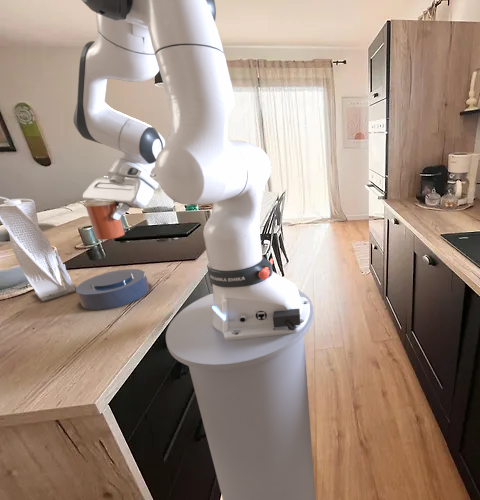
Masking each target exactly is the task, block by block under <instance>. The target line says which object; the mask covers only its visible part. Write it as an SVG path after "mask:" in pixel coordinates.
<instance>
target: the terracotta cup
mask: <svg viewBox="0 0 480 500" xmlns="http://www.w3.org/2000/svg"><path fill="white" fill-rule="evenodd" d="M83 205H84V207H85V208H86V209H85V210H86V212H87V214H88V218H89V221H90V224H91V227H92V230H93V233H94V237H95V239H96V240H100V241H101V240H112V239H117V238H120V237H123V236H125V235H126V232H125V228H124V225H123V222H122V219H121V217H120V219H119V220H113V219H111V218H109V215H110V214H111V212H114V211H115V210H116V209H117V208H118V206H117V205H116V202H115V201H114V200H105V199H94V200H88V201H86V200H84V201H83Z"/></svg>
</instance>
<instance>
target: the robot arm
mask: <svg viewBox="0 0 480 500" xmlns="http://www.w3.org/2000/svg"><path fill="white" fill-rule="evenodd" d="M81 1H82V3H84V4H85V5H86V6H87V8H89V10H91V11H92V12H94V13H95V19H96V30H97V31H96V38H95V40H91V41H88V42H87V43H86V44H84V46H83V48H82V49H81V52H80V58H79V66H78V83H77V97H76V106H75V109H74V113H73V117H72V118H73V119H72V121H73V124H74V127H75V129H76V130H77V132H78V133H79V134H80V136H81V137H82V138H84V139H85V140H88V141H91V142H94V143H98V144H102V145H103V146H104V145H105V146H107V147H110V148H112V149H115V150H117V151H118V152H121V154H120V155H119V156H117V157H116V159H115V160H114V162H113V163H112V165H111V166H110V168H109V169H108V170H107V173H106V174H107V175H103V176H102V177H97V178H95V179H94V180H93V181H92V182H90V184H89V185H88V187H87V188H86V189H85V191H83V193H82V199H83V200H84V201H88V200H94V199H105V200H114V201H115V202H116V205H117V209H116V210H115V211H114V212H111V214H110V215H109V218H111V219H113V220H119V219H120V218H121V217H122V216H123V215H125V214H126V213H127V212H128V211H129V210H130V209H139V210H140V209H141V210H142V209H144V208H145V207H147V206H148V205H149V203H150V201H151V200H152V198H153V196H154V193H155V190H157V189H158V188H159V187H160V188H161V190H162V191H163V192H164V194H165V195H166V196H167V197H169V198H170V199H171V200H172V201H173V202H175V203H178V204H181V205H187V206H188V205H189V206H190V205H191V206H193V205H194V206H195V205H196V206H197V205H211V204H212V210H211V213H210V215H209V217H208V220H207V221H206V222H205V224H204V226H203V229H202V232H203V233H202V234H203V236H202V237H203V240H204V245H205V251H206V256H207V262H208V263H207V265H206V267H207V274H208V275H207V276H208V279H209V283H210V286H211V287H212V293H213V300H214V306H213V318H212V325H213V327H214V328H215V329H216V330H218V331H220V332H221V333H222V334H223V336H224V338H225V340H227V341H233V340H241V339H249V338H258V337H266V336H275V335H283V334H291V333H296V332H298V331H300V330H301V329H302V328H303V327H304V326H305V324H306V323H307V321H308V318H309V315H310V304H309V301H308V300H307V299H306V298H305V297H300V296H299V292H298V290H299V289H298V287H297V284H295V283H294V282H292V281H291V280H288V279H287V278H285V277H283V276H281V275H280V274H278V273H276V272H275V271H273V270H274V269H273V264H274V262H273V261H274V260H273V258H270V260H268V259H267V258H265V257H264V255H263V251H262V242H261V241H262V240H261V231H260V220H261V219H260V217H261V210H262V209H261V208H262V201H263V197H264V190H265V188H266V185H267V183H268V181H269V179H270V177H271V174H272V164H271V160H270V158H269V156H268V154H267V153H266V152H265V150H263V148H262V147H259V146H258V145H256V144H253V143H251V142H247V141H245V140H229V131H228V130H229V129H228V126H229V125H228V124H229V117H230V114H231V112H232V111H233V110H234V108H235V106H236V96H235V93H234V88H233V83H232V79H231V76H230V72H229V67H228V63H227V59H226V56H225V52H224V48H223V43H222V40H221V37H220V34H219V30H218V27H217V23H216V17H217V10H216V9H217V8H216V1H215V0H81ZM158 73H159V74H160V76H161V80H162V83H163V87H164V91H165V95H166V98H167V102H168V109H169V130H168V136H167V140H165V138H164V137H163V136H162V134H161V133H160V132H159V131H157V130H156V128H155V127H154V126H152V125H150V124H148V123H146V122H143V121H142V120H139V119H136V118H134V117H131V116H129V115H127V114H124V113H122V112H120V111H117V110H115V109H113V108H112V107H110V106H109V105H108V104H107V103H106V93H107V85H108V80H116V81H122V82H126V83H127V82H128V83H139V82H146V81H149V80H151V79H153V78H154V77H155V76H157V74H158ZM153 169H154V173H155V178H156V180H155V179H153V178H152V177H151V175H152V171H153Z"/></svg>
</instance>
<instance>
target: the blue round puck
mask: <svg viewBox="0 0 480 500" xmlns="http://www.w3.org/2000/svg"><path fill="white" fill-rule="evenodd" d="M75 289H76V291H75V293H76V294H77V298H78V299H79V302H80V305H81V307H82V308H83V309H85V310H89V311H90V310H91V311H100V310H101V311H102V310H109V309H110V310H111V309H114V308H119V307H121V306H125V305H128V304H130V303H133V302H135V301H137V300H139V299H140V298H142V297H144V296H145V295H146V294H147V293H148V292H149V290H150V285H149V282H148V278H147V273H146V272H145V271H144V270H142V269H138V268H127V269H125V268H124V269H118V270H114V271H113V270H112V271H109V272H104V273H100V274H98V275H95V276H92V277H90V278H88V279H86V280H84V281H82V282H80V283H79V284H78V285H77V286H76V288H75Z"/></svg>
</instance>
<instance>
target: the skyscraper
mask: <svg viewBox="0 0 480 500" xmlns="http://www.w3.org/2000/svg"><path fill="white" fill-rule="evenodd" d="M0 200H3V203H2V204H0V222H1V224H2V225H3V227H4V229H6V231H7V232H8V236H9V241H10V245H11V249H12V251H13V254H14V257H15V259H16V262H17V263H18V265H19V267H20V269H21V271H22V273H23V275H24V277H25V278H26V280H27V281H28V283H29V284H30V285H31V287H32V288H33V290H34V294H35V296H36V297H37V298H38V299H40V300H41V301H42V302H43V303H44V302H48V301H50V300H54V299H57V298H60V297H63V296H66V295H69V294H72V293H76V288H75V286H74V284H73V282H72V278H71V277H70V274H69V273H68V271H67V268H66V264H65V263H63V261H62V259H61V256H60V255H59V254H58V252H57V250H56V249H54V248H53V246H52V244H51V243H50V240H49V239H48V237H47V235H46V234H45V233H44V232H43V230H42V229H41V227H40V226H39V219H38V214H37V207H36V203H35V200H33V199H31V198H11V199H10V198H7V197H5V196H0ZM61 279H62V280H61ZM62 282H63V284H62Z"/></svg>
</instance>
